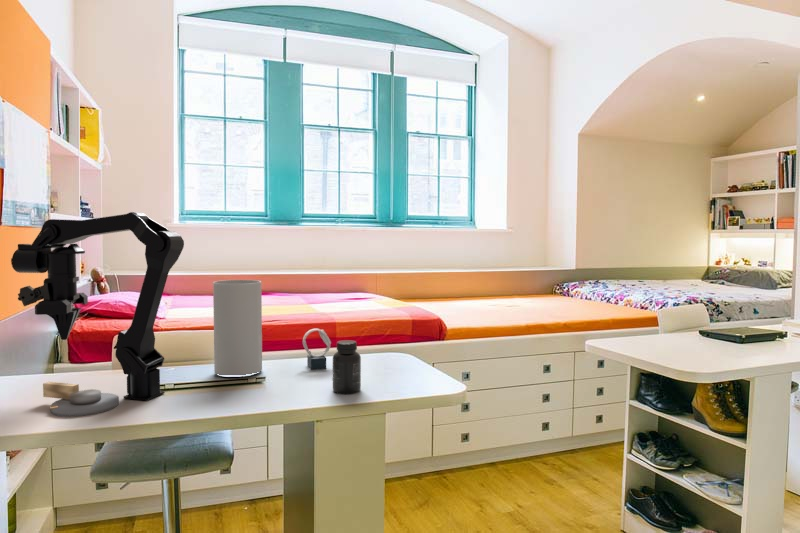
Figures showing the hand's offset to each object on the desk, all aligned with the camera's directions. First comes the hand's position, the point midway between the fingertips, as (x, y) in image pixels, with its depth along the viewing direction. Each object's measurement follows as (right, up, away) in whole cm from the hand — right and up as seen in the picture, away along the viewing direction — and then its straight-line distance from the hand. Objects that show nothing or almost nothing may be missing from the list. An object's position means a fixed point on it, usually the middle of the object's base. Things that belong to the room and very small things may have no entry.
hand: (64, 339), depth 131 cm
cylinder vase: (+35, -12, +21) cm, 43 cm away
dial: (+6, -12, -8) cm, 16 cm away
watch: (+55, -12, +29) cm, 63 cm away
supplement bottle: (+66, -13, +5) cm, 67 cm away
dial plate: (+10, -14, -9) cm, 19 cm away
